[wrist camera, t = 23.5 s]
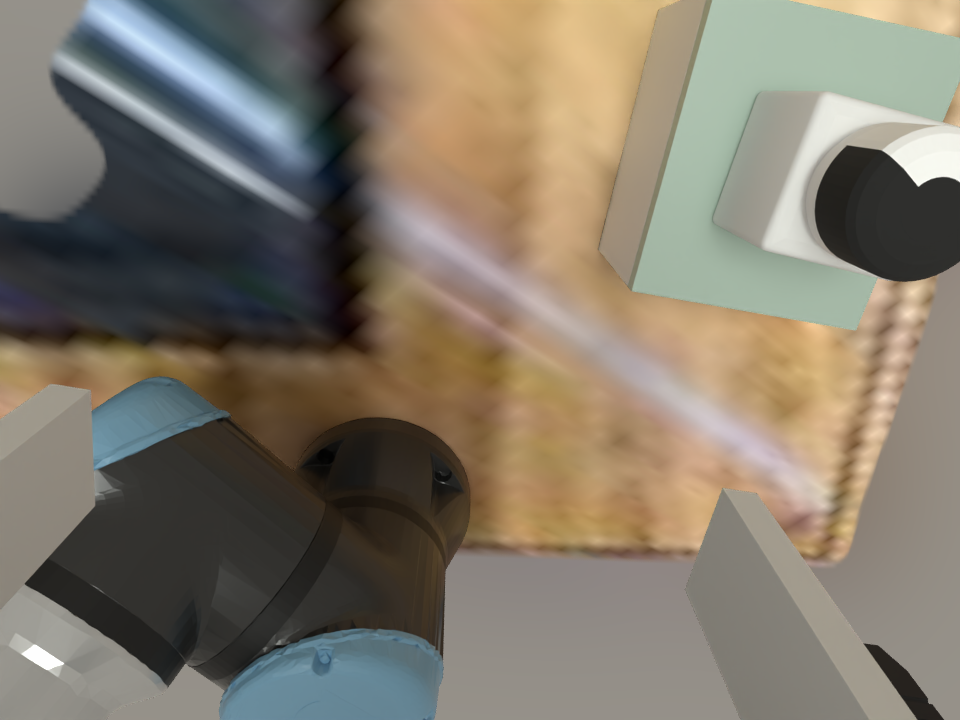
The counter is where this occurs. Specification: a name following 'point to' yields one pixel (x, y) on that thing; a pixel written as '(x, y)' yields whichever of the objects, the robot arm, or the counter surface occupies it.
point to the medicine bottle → (846, 185)
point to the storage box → (649, 132)
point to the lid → (720, 126)
